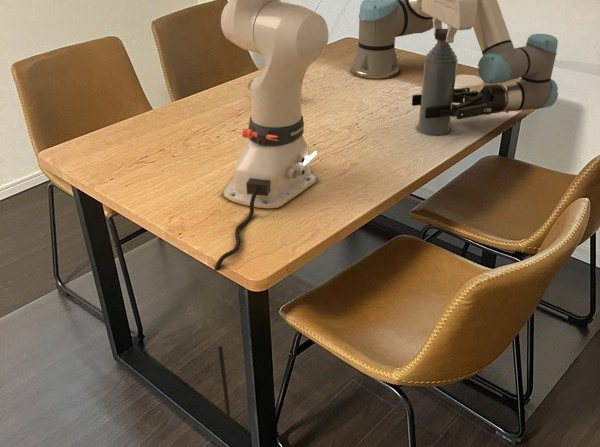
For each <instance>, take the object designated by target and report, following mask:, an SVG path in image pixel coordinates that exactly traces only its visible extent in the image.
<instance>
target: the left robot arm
mask: <svg viewBox="0 0 600 447" xmlns="http://www.w3.org/2000/svg"><path fill="white" fill-rule="evenodd" d="M421 7H422V11H423V12H424V13H426V14H428V15H430V16H432V17H433V25H434V28H433V36H434V37H435V32H436V30H437V29H443V23H444V24H446V25H447V26H446V29H448V32H447V34H446V35H445V39H444V41H445V42H447V43H449V44H453V43H454V41H455V36H456V34H457V32H458V31H467V30H472V28H473V25H474V23H475V17H476V11H477V0H422V4H421ZM220 28H221V31H222V33H223V36H224V37H225V38H226V40H228V41H229V42H230V43H232V44H234V45H235V46H237V47H238V48H240V49H242V50H245V51H247V52H251V53H255V54H259V55H262V56H263V57H264V67H263V71H262V72H261V73H260V74H258V75H257V76H256V77H255V78H253V79H252V80H253V81H252V83H251V85H250V91H249V101H250V102H249V103H250V117H249V123H248V126H247V128H245V127H244V128H243V129H242V131H241V137H242V138H244V139H247V140H246V142H245V144H244V146H243V148H242V151H241V153H240V154H239V157H238V159H237V161H236V163H235V166H234V167H233V168H234V169H233V177H232V178H231V180H230V181H229V183H228V184H227V186H226V187H225V188H224V190H223V196H224V198H225V199H228V200H229V201H231V202H233V203H237V204H239V205H244V206H248V207H249V214H248V215H247V218H246V219H245V220H244V221H242V222H241V223H240V224H238V226H236V228H235V232H234V237H235V246H234V247H233V248H232V249H231V250H229V251H227V252H225V253H224V254H222V255H221V256H220V257H219V258H218V259H217V262H216V264H215V266H214V271H215V272H217V271H219V270H220V268H221V265H222V263H223V262H224V261H225V260H226V259H227V258H229V257H231V256H233V255H234V254H236V253H237V252H238V251H239V249H241V248H240V247H241V236H240V233H241V230H242V228H243V227H245V226H247V224H248V223H250V221H251V220H252V218H253V215H254V213H255V208H258V209H278V208H280V207H283V205H285V204H286V203H288V202H289V201H292V199H294V198H295V197H296V196H298V195H299V194H301V193H303V192H304V191H305V190H307V189H308V188H309V187H311V186H313V185H314V184H316V182H317V176H316V175H315V174H314V173H312V167H311V160H312V159H313V158H314V157H315V156H316V155H317V151H316V150H315V151H313V153H311V154H310V147H309V145H308V144H307V142H306V140H305V138H304V133H305V132H304V131H305V130H304V127H305V121H304V116H303V115H302V93H303V92H302V91H303V82H304V79H305V76H306V73H307V71H308V69H309V68H310V66H312V64H313V63H315V62H316V61H317V60H319V59H320V57H321V56H322V55H323V54H324V52H325V51H326V48H327V46H328V43H329V28H328V24H327V21H326V19H325V18H324V17H323V16H322V15H321V14H319V13H317V12H315V11H314V10H311V9H310V8H307V7H305V6H303V5H299V4H295V3H289V2H285V1H281V0H229V1H228V2H227V3H226V4H225V5H224V7H223V10H222V12H221V17H220ZM217 349H218V358H219V366H220V373H221V380H222V381H221V382H222V388H223V396H224V406H225V414H226V417H231V409H230V400H229V392H228V383H227V375H226V367H225V366H226V365H225V358H224V350H223V346H218V347H217Z"/></svg>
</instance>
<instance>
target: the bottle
mask: <svg viewBox="0 0 600 447" xmlns="http://www.w3.org/2000/svg"><path fill="white" fill-rule="evenodd" d="M458 60H459V59H458V56H457V55H456V53H455V51H453V48H452V47H451V45H450V43H447V42H445V41H439V40H436V44H434V46H433V47H432V48H431V49H430V50H429V51H428V53H426V55H425V57H424V62H423V73H422V81H421V103H420V105H419V114H418V124H417V125H418V127H417V129H418V131H419V132H420V133H422V134H424V135H429V136H443V135H446V134H448V133H449V132H450V127H451V120H452V119H451V118H452V117H451V116H446V117H436V118H427V119H426V118H425V110H426V107H435V106H445V105H450V106H451V108H452V104H454V103H453V95H454V87H455V79H456V75H457V71H458V64H459V63H458V62H459V61H458Z"/></svg>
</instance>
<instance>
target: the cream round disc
mask: <svg viewBox="0 0 600 447" xmlns="http://www.w3.org/2000/svg"><path fill="white" fill-rule="evenodd" d="M484 84H485V82H484V81H483V80H482V79H481V78H480V76H477V75H473V74H456V79H455V87H454V89H458V88H466V87H468V88H470V92H471V91H478V92H480V91H481V90H482V89H483V87H484Z"/></svg>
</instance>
